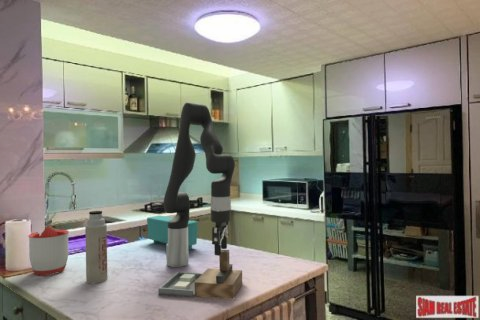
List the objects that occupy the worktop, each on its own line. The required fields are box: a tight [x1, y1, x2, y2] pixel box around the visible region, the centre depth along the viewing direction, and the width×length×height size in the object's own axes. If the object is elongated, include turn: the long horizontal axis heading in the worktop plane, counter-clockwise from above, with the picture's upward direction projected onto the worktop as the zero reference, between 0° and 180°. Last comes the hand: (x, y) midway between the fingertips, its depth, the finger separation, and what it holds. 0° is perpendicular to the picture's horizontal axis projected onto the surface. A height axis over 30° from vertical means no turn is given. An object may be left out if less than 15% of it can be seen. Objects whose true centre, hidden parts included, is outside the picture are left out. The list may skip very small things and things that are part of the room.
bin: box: [157, 271, 204, 299], centre depth 132 cm, size 13×18×2 cm
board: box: [194, 267, 243, 300], centre depth 129 cm, size 14×16×5 cm
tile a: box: [174, 281, 190, 290], centre depth 128 cm, size 4×4×2 cm
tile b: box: [180, 274, 195, 284], centre depth 136 cm, size 4×4×2 cm
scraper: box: [216, 249, 233, 284], centre depth 128 cm, size 3×14×10 cm, turn 167°
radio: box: [146, 215, 199, 251], centre depth 194 cm, size 34×10×15 cm, turn 49°
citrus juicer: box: [28, 226, 69, 277], centre depth 153 cm, size 16×17×20 cm
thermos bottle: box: [84, 210, 109, 284], centre depth 141 cm, size 8×8×28 cm
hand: (220, 251), depth 129 cm, fingers open, 8 cm apart
